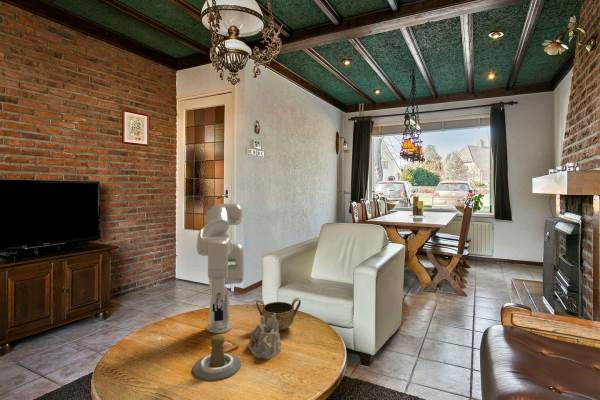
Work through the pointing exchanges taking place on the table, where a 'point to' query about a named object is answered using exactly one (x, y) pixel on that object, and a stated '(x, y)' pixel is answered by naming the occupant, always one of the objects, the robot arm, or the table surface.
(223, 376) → the round tray
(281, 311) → the ceramic bowl
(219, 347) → the cork
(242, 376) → the table surface
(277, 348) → the ceramic cottage
